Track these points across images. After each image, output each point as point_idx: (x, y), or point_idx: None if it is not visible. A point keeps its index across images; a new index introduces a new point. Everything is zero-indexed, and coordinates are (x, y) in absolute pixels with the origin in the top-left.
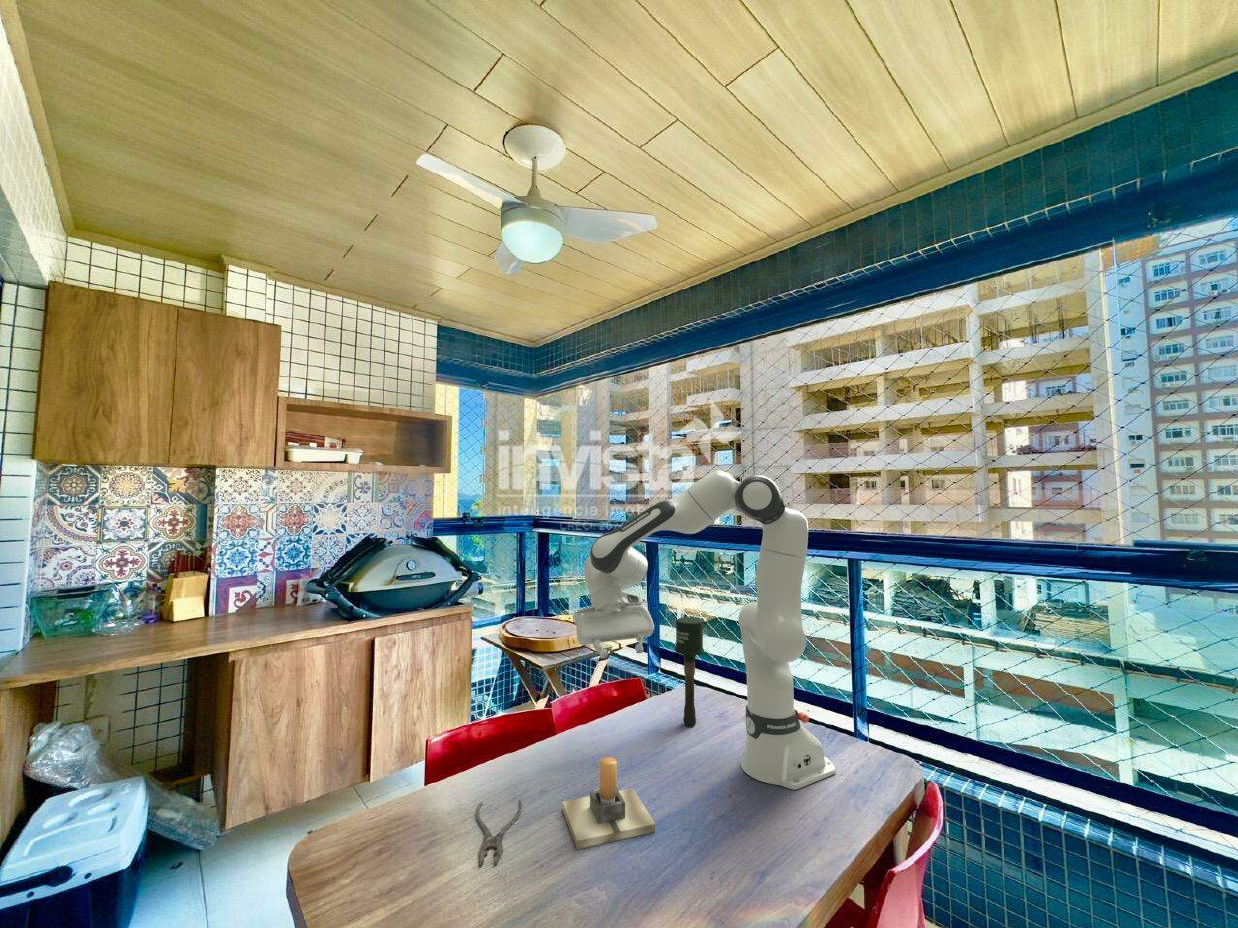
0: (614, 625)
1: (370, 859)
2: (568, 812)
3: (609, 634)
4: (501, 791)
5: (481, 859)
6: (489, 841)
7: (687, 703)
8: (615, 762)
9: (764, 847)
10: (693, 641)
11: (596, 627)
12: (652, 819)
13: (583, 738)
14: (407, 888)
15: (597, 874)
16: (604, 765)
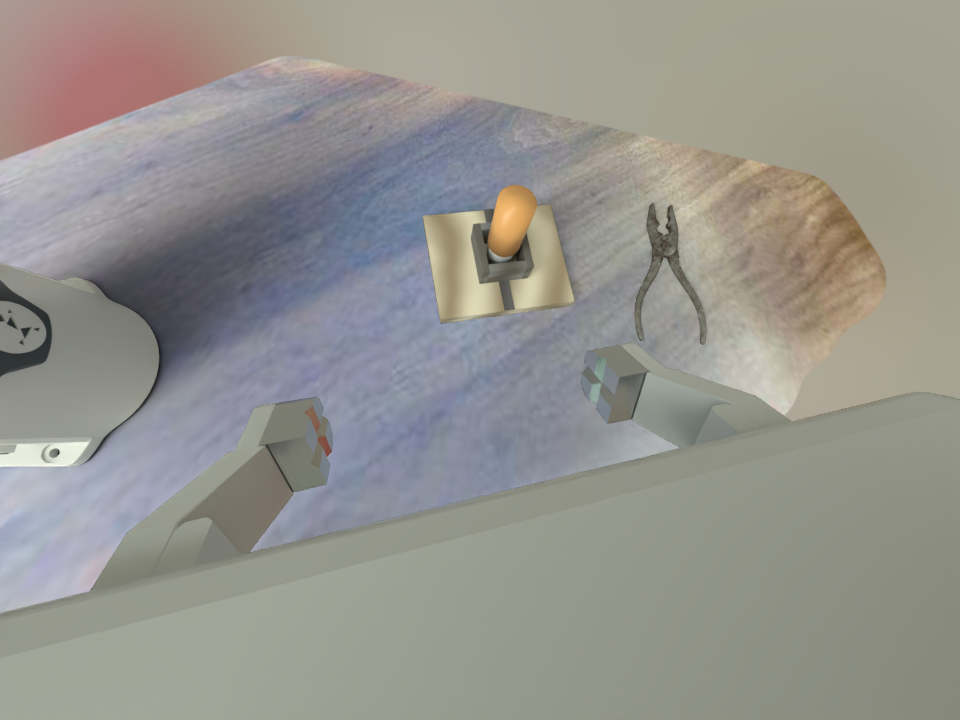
0: (642, 637)
1: (804, 248)
2: (563, 270)
3: (654, 456)
4: None
5: (672, 213)
6: (669, 244)
7: None
8: (501, 196)
9: (260, 158)
10: None
11: (951, 529)
12: (425, 226)
13: None
14: (740, 193)
15: (521, 164)
16: (526, 190)
